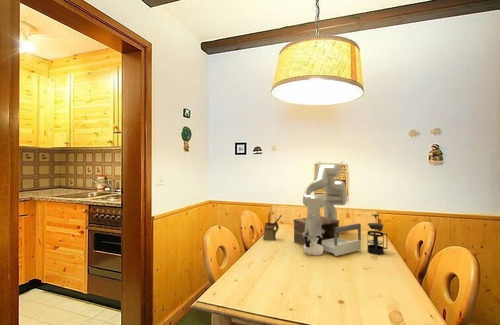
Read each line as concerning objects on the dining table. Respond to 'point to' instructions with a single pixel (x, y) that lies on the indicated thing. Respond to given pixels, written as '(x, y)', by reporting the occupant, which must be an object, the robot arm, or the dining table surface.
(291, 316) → the dining table surface
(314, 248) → the white tied sack
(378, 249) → the french press
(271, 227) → the wooden mug
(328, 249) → the pull-out tray
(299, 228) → the walnut cabinet
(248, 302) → the dining table surface
